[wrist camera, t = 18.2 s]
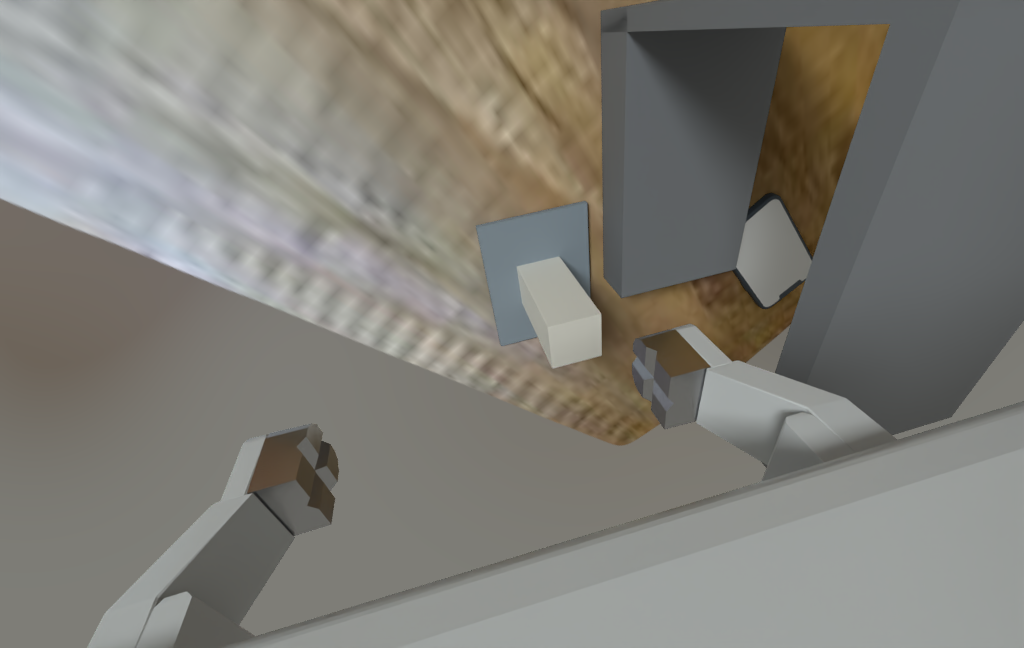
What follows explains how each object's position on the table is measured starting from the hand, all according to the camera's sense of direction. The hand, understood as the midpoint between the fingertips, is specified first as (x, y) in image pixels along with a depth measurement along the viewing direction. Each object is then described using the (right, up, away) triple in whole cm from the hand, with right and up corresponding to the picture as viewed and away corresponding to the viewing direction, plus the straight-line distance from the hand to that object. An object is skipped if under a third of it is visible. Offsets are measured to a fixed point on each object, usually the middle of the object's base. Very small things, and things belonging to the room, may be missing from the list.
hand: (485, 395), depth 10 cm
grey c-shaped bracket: (+17, +19, +32) cm, 41 cm away
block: (+4, +7, +37) cm, 38 cm away
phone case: (+34, +11, +43) cm, 56 cm away
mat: (+4, +7, +37) cm, 38 cm away
